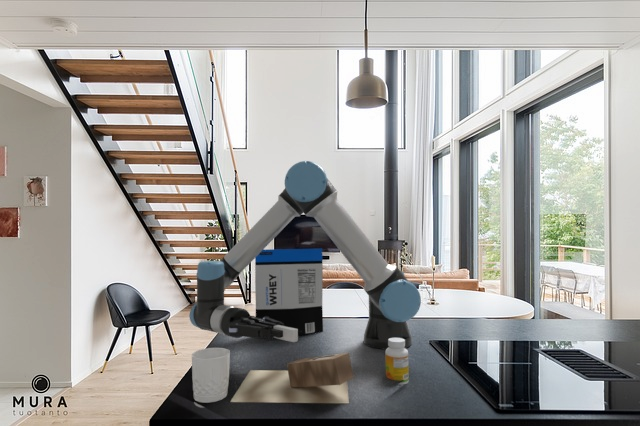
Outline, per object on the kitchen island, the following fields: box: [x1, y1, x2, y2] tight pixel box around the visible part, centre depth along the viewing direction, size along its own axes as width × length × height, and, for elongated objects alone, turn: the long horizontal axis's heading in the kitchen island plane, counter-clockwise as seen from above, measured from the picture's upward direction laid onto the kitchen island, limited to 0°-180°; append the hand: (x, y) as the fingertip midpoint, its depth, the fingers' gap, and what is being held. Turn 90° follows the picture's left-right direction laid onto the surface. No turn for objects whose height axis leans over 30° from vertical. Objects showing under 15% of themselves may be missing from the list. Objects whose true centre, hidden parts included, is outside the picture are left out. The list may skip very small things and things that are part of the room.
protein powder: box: [254, 248, 324, 339], centre depth 135 cm, size 10×24×30 cm, turn 103°
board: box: [230, 369, 350, 404], centre depth 85 cm, size 24×18×1 cm
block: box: [286, 352, 355, 388], centre depth 82 cm, size 5×5×14 cm
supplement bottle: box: [384, 338, 410, 386], centre depth 90 cm, size 5×5×10 cm
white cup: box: [191, 347, 231, 409], centre depth 80 cm, size 8×8×10 cm
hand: (295, 335), depth 87 cm, fingers closed
